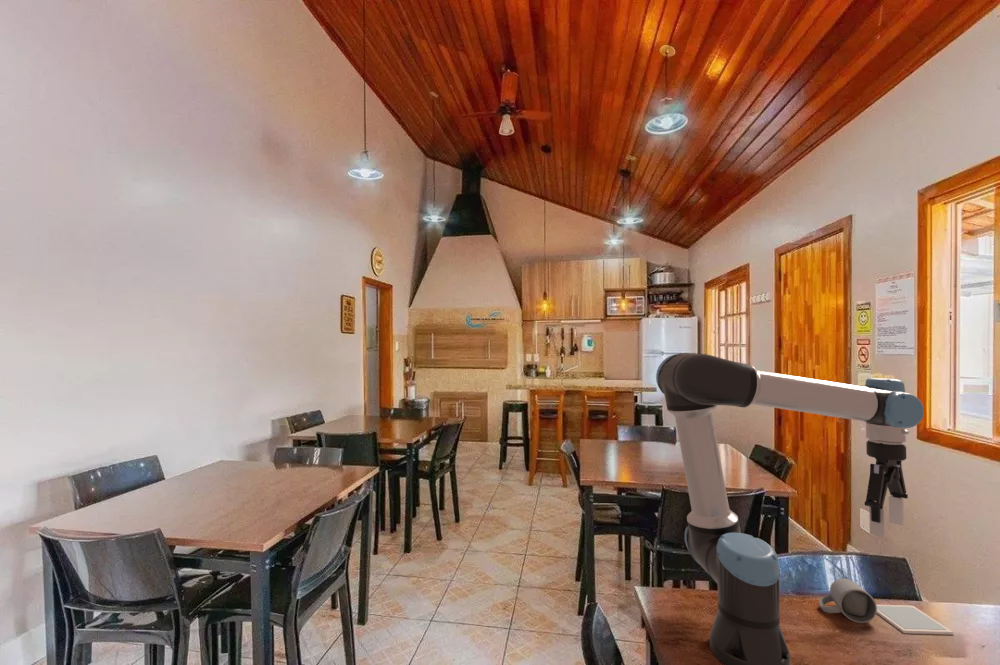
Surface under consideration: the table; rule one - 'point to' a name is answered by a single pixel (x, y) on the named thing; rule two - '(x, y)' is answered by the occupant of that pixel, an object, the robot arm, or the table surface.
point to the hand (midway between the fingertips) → (887, 529)
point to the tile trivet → (911, 620)
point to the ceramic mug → (850, 601)
